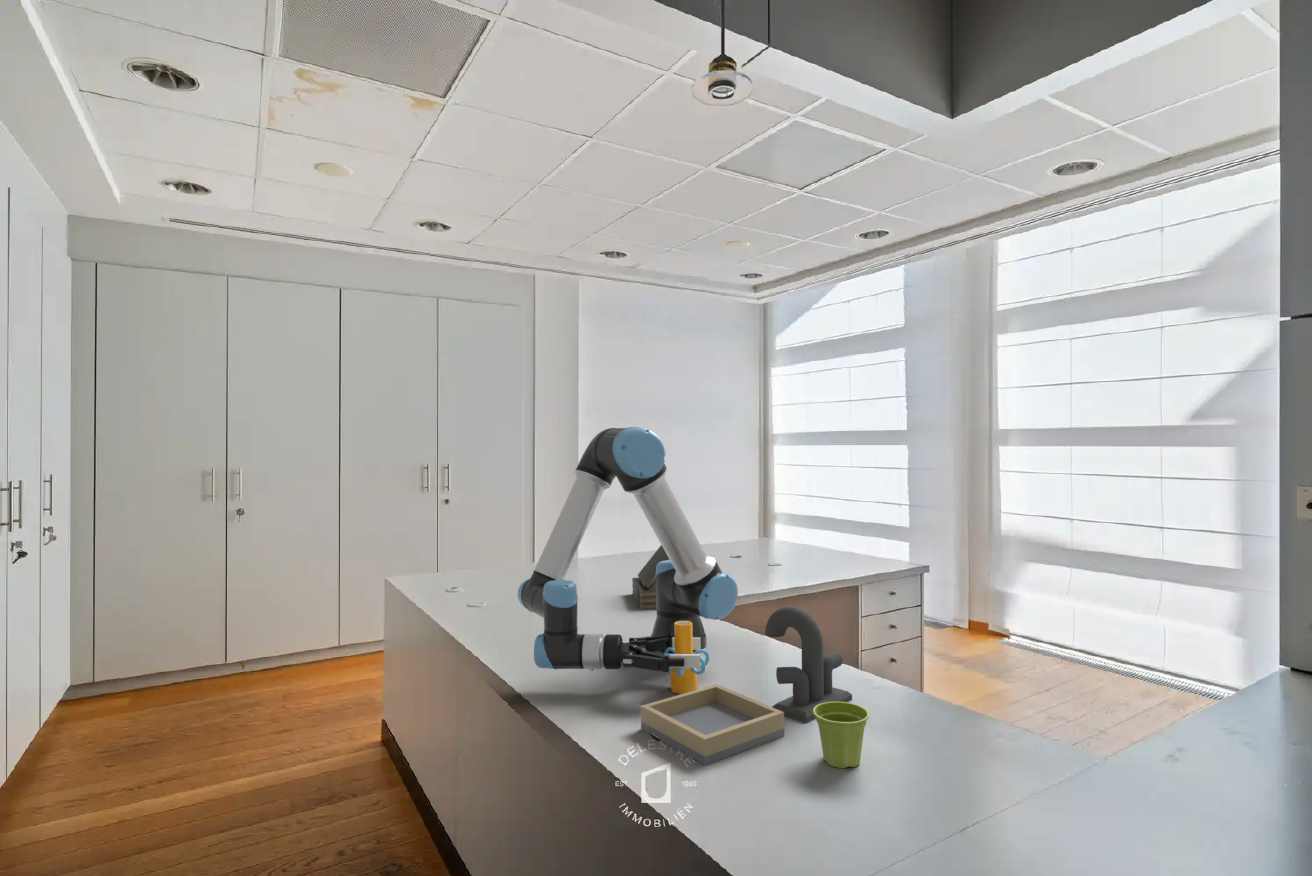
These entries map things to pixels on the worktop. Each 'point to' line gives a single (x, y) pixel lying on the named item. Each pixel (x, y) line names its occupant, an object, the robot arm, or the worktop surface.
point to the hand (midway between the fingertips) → (700, 652)
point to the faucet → (805, 666)
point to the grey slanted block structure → (648, 581)
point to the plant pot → (841, 732)
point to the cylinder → (685, 677)
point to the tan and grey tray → (712, 723)
